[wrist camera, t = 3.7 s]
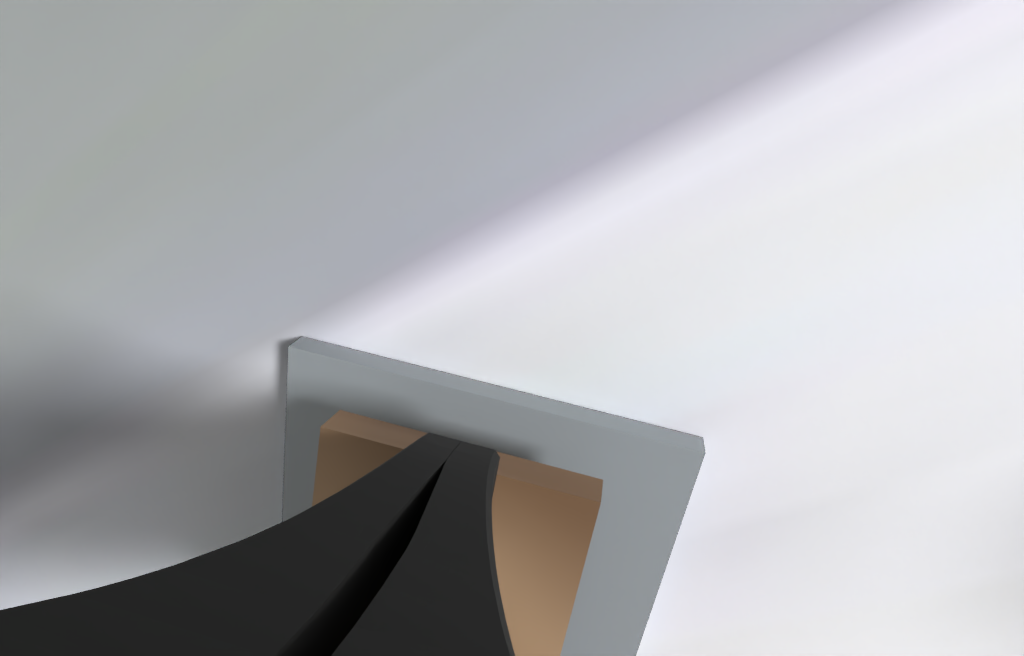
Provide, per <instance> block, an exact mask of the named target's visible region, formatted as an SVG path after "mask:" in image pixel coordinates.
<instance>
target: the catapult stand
mask: <svg viewBox="0 0 1024 656" xmlns="http://www.w3.org/2000/svg"><path fill="white" fill-rule="evenodd" d="M339 410H343V411H347V412H351V413H354V414H358V415H362V416H366V417H369V418H373V419H377V420H381V421H384V422H388V423H392V424H396V425H399V426H403V427H407V428H411V429H414V430H418V431H422V432H426V433H433V434H437V435H441V436H444V437H448V438H452V439H456V440H460V441H463V442H467V443H471V444H475V445H479V446H483V447H486V448H490V449H494V450H496V451H497V452H501V453H505V454H508V455H512V456H516V457H520V458H523V459H527V460H531V461H535V462H539V463H542V464H546V465H550V466H554V467H557V468H561V469H565V470H569V471H572V472H576V473H580V474H584V475H587V476H591V477H595V478H599V479H602V480H603V487H602V497H601V504H600V508H599V512H598V516H597V519H596V523H595V527H594V531H593V534H592V538H591V542H590V546H589V549H588V553H587V557H586V561H585V564H584V568H583V572H582V576H581V579H580V583H579V587H578V590H577V594H576V598H575V602H574V605H573V609H572V613H571V617H570V620H569V624H568V628H567V632H566V635H565V639H564V643H563V647H562V650H561V654H560V656H636V654H637V651H638V648H639V645H640V642H641V639H642V636H643V633H644V630H645V627H646V624H647V621H648V619H649V616H650V613H651V610H652V607H653V604H654V601H655V598H656V595H657V592H658V589H659V586H660V584H661V581H662V578H663V575H664V572H665V569H666V566H667V563H668V560H669V557H670V554H671V552H672V549H673V546H674V543H675V540H676V537H677V534H678V531H679V528H680V525H681V522H682V519H683V517H684V514H685V511H686V508H687V505H688V502H689V499H690V496H691V493H692V490H693V487H694V485H695V482H696V479H697V476H698V473H699V470H700V467H701V464H702V461H703V458H704V455H705V447H704V441H703V437H699V436H695V435H691V434H687V433H683V432H679V431H675V430H671V429H667V428H663V427H659V426H655V425H651V424H647V423H643V422H639V421H635V420H631V419H627V418H623V417H619V416H615V415H612V414H608V413H604V412H600V411H596V410H592V409H588V408H584V407H580V406H576V405H572V404H568V403H564V402H560V401H556V400H552V399H548V398H544V397H540V396H536V395H532V394H528V393H524V392H520V391H516V390H513V389H509V388H505V387H501V386H497V385H493V384H489V383H485V382H481V381H477V380H473V379H469V378H465V377H461V376H457V375H453V374H449V373H445V372H441V371H437V370H433V369H429V368H425V367H421V366H417V365H413V364H410V363H406V362H402V361H398V360H394V359H390V358H386V357H382V356H378V355H374V354H370V353H366V352H362V351H358V350H354V349H350V348H346V347H342V346H338V345H334V344H330V343H326V342H322V341H318V340H314V339H310V338H307V337H303V336H302V337H301V338H300V339H298V340H297V341H295V342H294V343H293V344H291V345H290V346H288V371H287V398H286V426H285V453H284V481H283V508H282V522H284V521H286V520H288V519H290V518H292V517H294V516H296V515H297V514H299V513H301V512H303V511H305V510H307V509H309V508H310V507H312V501H313V492H314V482H315V473H316V464H317V455H318V445H319V436H320V427H321V426H322V425H323V424H324V423H325V422H326V421H328V420H329V419H330V418H331V417H332V416H333V415H335V414H336V413H337V412H338V411H339Z"/></svg>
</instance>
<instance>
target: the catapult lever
mask: <svg viewBox="0 0 1024 656" xmlns="http://www.w3.org/2000/svg"><path fill="white" fill-rule="evenodd" d="M426 434H427V433H426V432H422V431H418V430H414V429H411V428H407V427H403V426H399V425H396V424H392V423H388V422H384V421H381V420H377V419H373V418H369V417H366V416H362V415H358V414H354V413H351V412H347V411H343V410H339V411H338V412H337V413H336V414H335V415H333V416H332V417H331V418H330V419H329V420H328V421H326V422H325V423H324V424H323V425H322V426H321V427H320V436H319V445H318V455H317V464H316V473H315V482H314V492H313V501H312V506H314V505H316V504H317V503H319V502H321V501H323V500H325V499H326V498H328V497H330V496H332V495H333V494H335V493H337V492H339V491H340V490H342V489H344V488H345V487H347V486H349V485H350V484H352V483H353V482H355V481H357V480H358V479H360V478H361V477H363V476H364V475H366V474H368V473H369V472H371V471H372V470H374V469H375V468H377V467H378V466H380V465H381V464H383V463H384V462H386V461H387V460H389V459H390V458H392V457H393V456H395V455H396V454H398V453H399V452H400V451H402V450H403V449H405V448H406V447H408V446H409V445H410V444H412V443H413V442H415V441H416V440H418V439H419V438H421V437H422V436H424V435H426ZM496 452H497V451H496ZM497 453H498V455H499V456H500V460H499V466H498V471H497V476H496V481H495V487H494V492H493V497H492V529H493V544H494V553H495V561H496V570H497V576H498V583H499V588H500V594H501V599H502V604H503V609H504V613H505V618H506V622H507V626H508V630H509V634H510V638H511V642H512V646H513V650H514V653H515V656H560V654H561V650H562V647H563V643H564V639H565V635H566V632H567V628H568V624H569V620H570V617H571V613H572V609H573V605H574V602H575V598H576V594H577V590H578V587H579V583H580V579H581V576H582V572H583V568H584V564H585V561H586V557H587V553H588V549H589V546H590V542H591V538H592V534H593V531H594V527H595V523H596V519H597V516H598V512H599V508H600V504H601V497H602V487H603V480H602V479H599V478H595V477H591V476H587V475H584V474H580V473H576V472H572V471H569V470H565V469H561V468H557V467H554V466H550V465H546V464H542V463H539V462H535V461H531V460H527V459H523V458H520V457H516V456H512V455H508V454H505V453H501V452H497Z"/></svg>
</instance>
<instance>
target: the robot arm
mask: <svg viewBox="0 0 1024 656" xmlns="http://www.w3.org/2000/svg"><path fill="white" fill-rule="evenodd" d="M499 460H500V456H499V455H498V453H497V452H496V450H494V449H490V448H486V447H483V446H479V445H475V444H471V443H467V442H463V441H460V440H456V439H452V438H448V437H444V436H441V435H437V434H433V433H427V434H426V435H424V436H422V437H421V438H419V439H418V440H416V441H415V442H413V443H412V444H410V445H409V446H408V447H406V448H405V449H403V450H402V451H400V452H399V453H398V454H396V455H395V456H393V457H392V458H390V459H389V460H387V461H386V462H384V463H383V464H381V465H380V466H378V467H377V468H375V469H374V470H372V471H371V472H369V473H368V474H366V475H364V476H363V477H361V478H360V479H358V480H357V481H355V482H353V483H352V484H350V485H349V486H347V487H345V488H344V489H342V490H340V491H339V492H337V493H335V494H333V495H332V496H330V497H328V498H326V499H325V500H323V501H321V502H319V503H317V504H316V505H314V506H312V507H310V508H309V509H307V510H305V511H303V512H301V513H299V514H297V515H296V516H294V517H292V518H290V519H288V520H286V521H284V522H282V523H280V524H277V525H275V526H273V527H271V528H269V529H266V530H264V531H262V532H260V533H257V534H255V535H253V536H251V537H248V538H246V539H244V540H241V541H239V542H236V543H234V544H231V545H228V546H225V547H223V548H220V549H217V550H215V551H212V552H209V553H207V554H204V555H201V556H198V557H196V558H193V559H190V560H188V561H185V562H182V563H180V564H177V565H174V566H171V567H168V568H164V569H161V570H158V571H155V572H151V573H148V574H145V575H142V576H139V577H135V578H132V579H128V580H124V581H121V582H117V583H114V584H110V585H107V586H103V587H99V588H95V589H92V590H88V591H84V592H80V593H76V594H72V595H67V596H62V597H58V598H53V599H49V600H44V601H40V602H35V603H31V604H26V605H22V606H17V607H13V608H8V609H4V610H0V656H515V653H514V650H513V646H512V642H511V638H510V634H509V630H508V626H507V622H506V618H505V613H504V609H503V604H502V599H501V594H500V588H499V583H498V576H497V570H496V561H495V553H494V544H493V529H492V497H493V492H494V487H495V481H496V476H497V471H498V466H499Z"/></svg>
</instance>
